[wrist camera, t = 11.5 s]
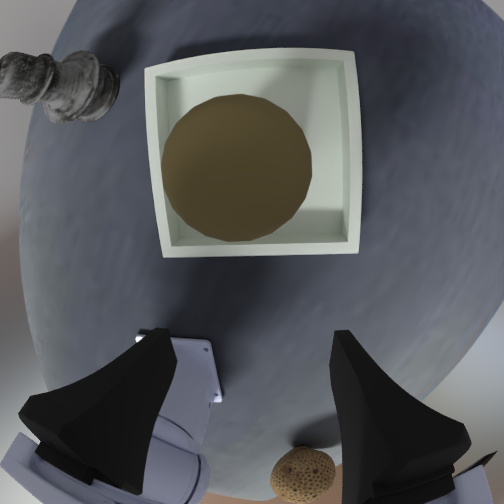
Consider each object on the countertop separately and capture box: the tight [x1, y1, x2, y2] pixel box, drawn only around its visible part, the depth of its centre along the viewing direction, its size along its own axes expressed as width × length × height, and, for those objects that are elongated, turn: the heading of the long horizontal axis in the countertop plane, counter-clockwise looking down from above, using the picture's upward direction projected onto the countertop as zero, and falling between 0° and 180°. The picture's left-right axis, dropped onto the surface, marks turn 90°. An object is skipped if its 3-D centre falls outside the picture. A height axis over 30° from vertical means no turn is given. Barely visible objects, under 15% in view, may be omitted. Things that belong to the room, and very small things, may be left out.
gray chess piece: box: [0, 51, 119, 124], centre depth 11 cm, size 6×6×12 cm
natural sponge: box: [270, 446, 335, 504], centre depth 27 cm, size 9×9×10 cm
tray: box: [145, 48, 362, 258], centre depth 17 cm, size 14×14×2 cm
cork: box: [161, 94, 312, 242], centre depth 13 cm, size 6×6×11 cm
